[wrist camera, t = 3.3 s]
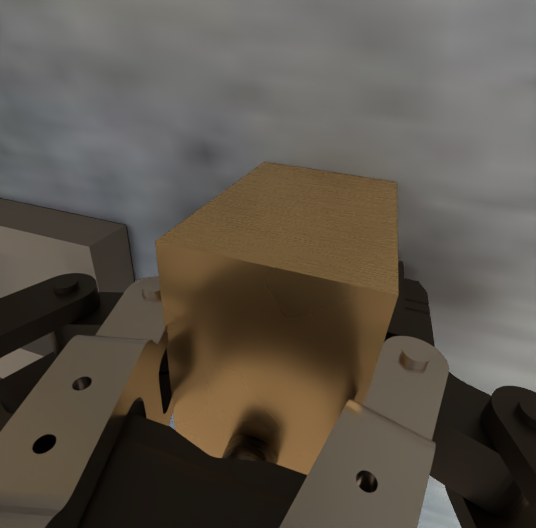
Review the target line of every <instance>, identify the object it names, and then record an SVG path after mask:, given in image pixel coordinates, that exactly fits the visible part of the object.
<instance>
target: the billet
mask: <svg viewBox="0 0 536 528" xmlns="http://www.w3.org/2000/svg"><path fill="white" fill-rule="evenodd" d="M155 244H156V253H157V262H158V272H159V281H160V290H161V300H162V309H163V319H164V324H167V329H168V339H169V342H168V344H167V356H168V366H169V375H170V384H171V391H174V398H175V407H174V410H173V412H174V422H175V431H177V432H178V433H179V434H181V435H182V436H183V437H185V438H186V439H188V440H189V441H190V442H192V443H193V444H194V445H196V446H197V447H199V448H200V449H201V450H203V451H204V452H205V453H207V454H208V455H210V456H213V457H217V458H228V459H240V460H252V461H264V462H272V463H275V464H277V465H280V466H283V467H286V468H289V469H292V470H294V471H297V472H300V473H303V474H306V475H308V474H309V472H310V470H311V468H312V466H313V464H314V462H315V461H316V459H317V457H318V455H319V453H320V451H321V449H322V448H323V446H324V444H325V442H326V440H327V438H328V436H329V435H330V433H331V431H332V429H333V427H334V425H335V423H336V422H337V420H338V418H339V416H340V414H341V412H342V410H343V409H344V407H345V405H346V403H347V402H348V400H349V399H350V398H351V399H353V400H354V398H355V396H356V394H357V393H358V391H359V389H360V387H361V385H362V383H363V381H364V379H365V380H368V381H372V378H373V375H374V371H375V368H376V365H377V362H378V359H379V355H380V352H381V349H382V346H383V343H384V340H385V336H386V333H387V330H388V327H389V324H390V320H391V317H392V314H393V311H394V308H395V305H396V301H397V298H398V295H399V294H398V229H397V182H394V181H388V180H381V179H374V178H368V177H361V176H354V175H348V174H341V173H334V172H328V171H321V170H314V169H308V168H301V167H294V166H288V165H281V164H274V163H268V162H264V163H262V164H261V165H259V166H258V167H257V168H255V169H254V170H253V171H251V172H250V173H248V174H247V175H246V176H244V177H243V178H242V179H240V180H239V181H237V182H236V183H235V184H233V185H232V186H231V187H229V188H228V189H226V190H225V191H224V192H222V193H221V194H220V195H218V196H217V197H215V198H214V199H213V200H211V201H210V202H209V203H207V204H206V205H204V206H203V207H202V208H200V209H199V210H198V211H196V212H195V213H193V214H192V215H191V216H189V217H188V218H187V219H185V220H184V221H182V222H181V223H180V224H178V225H177V226H176V227H174V228H173V229H171V230H170V231H169V232H167V233H166V234H164V235H163V236H162V237H160V238H159V239H158V240H156V241H155Z"/></svg>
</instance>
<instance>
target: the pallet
mask: <svg viewBox="0 0 536 528" xmlns="http://www.w3.org/2000/svg"><path fill="white" fill-rule="evenodd" d="M68 273H83V274H88V275H90V276H92V277H94V278H95V280H96V283H97V287H98V292H123V293H124V292H125V291H126V289H127V288H128V287H129V286H130V285H131V284H132V283H134V275H133V269H132V262H131V256H130V249H129V242H128V236H127V229H126V225H123V224H118V223H113V222H109V221H104V220H99V219H95V218H90V217H85V216H81V215H76V214H71V213H66V212H62V211H57V210H52V209H48V208H43V207H38V206H34V205H29V204H24V203H19V202H15V201H10V200H5V199H1V198H0V298H2V297H4V296H7V295H9V294H12V293H15V292H17V291H20V290H22V289H25V288H27V287H30V286H32V285H35V284H37V283H40V282H42V281H45V280H48V279H50V278H53V277H56V276H59V275H63V274H68ZM53 351H54V350H53V347H52V344H51V341H50V338H49V335H48V334H47V335H45V336H43V337H41V338H39V339H37V340H35V341H33V342H31V343H29V344H27V345H25V346H23V347H21V348H19V349H17V350H15V351H13V352H11V353H9V354H7V355H5V356H3V357H2V358H0V380H1V379H3V378H5V377H7V376H9V375H10V374H12V373H14V372H16V371H18V370H20V369H22V368H23V367H25V366H27V365H29V364H31V363H33V362H34V361H36V360H38V359H40V358H42V357H44V356H46V355H47V354H49V353H51V352H53Z"/></svg>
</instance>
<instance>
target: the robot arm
mask: <svg viewBox="0 0 536 528" xmlns="http://www.w3.org/2000/svg"><path fill="white" fill-rule="evenodd" d="M398 294H399V295H398V298H397V301H396V305H395V308H394V311H393V314H392V317H391V320H390V324H389V327H388V330H387V333H386V336H385V340H384V343H383V346H382V349H381V352H380V355H379V359H378V362H377V365H376V368H375V371H374V375H373V378H372V381H368V380H365V379H364V381H363V383H362V385H361V387H360V389H359V391H358V393H357V394H356V396H355V398H354V400H353V399H351V398H350V399H349V400H348V402H347V403H346V405H345V407H344V409H343V410H342V412H341V414H340V416H339V418H338V420H337V422H336V423H335V425H334V427H333V429H332V431H331V433H330V435H329V436H328V438H327V440H326V442H325V444H324V446H323V448H322V449H321V451H320V453H319V455H318V457H317V459H316V461H315V462H314V464H313V466H312V468H311V470H310V472H309V474H308V475H306V474H303V473H300V472H297V471H294V470H292V469H289V468H286V467H283V466H280V465H277V464H275V463H272V462H264V461H252V460H240V459H228V458H217V457H213V456H210V455H208V454H207V453H205V452H204V451H203V450H201V449H200V448H199V447H197V446H196V445H194V444H193V443H192V442H190V441H189V440H188V439H186V438H185V437H183V436H182V435H181V434H179V433H178V432H177V431H175V430H174V429H172V428H171V427H170V426H169V423H170V419H171V416H172V413H173V410H174V407H175V398H174V391H171V384H170V375H169V366H168V356H167V344H168V342H169V339H168V329H167V324H164V319H163V309H162V300H161V290H160V281H159V276H153V277H147V278H143V279H140V280H138V281H136V282H134V283H132V284H131V285H130V286H129V287H128V288H127V289H126V291H125V292H124V293H123V292H98V287H97V283H96V280H95V278H94V277H92V276H90V275H88V274H83V273H68V274H63V275H59V276H56V277H53V278H50V279H48V280H45V281H42V282H40V283H37V284H35V285H32V286H30V287H27V288H25V289H22V290H20V291H17V292H15V293H12V294H9V295H7V296H4V297H2V298H0V358H2V357H3V356H5V355H7V354H9V353H11V352H13V351H15V350H17V349H19V348H21V347H23V346H25V345H27V344H29V343H31V342H33V341H35V340H37V339H39V338H41V337H43V336H45V335H47V334H48V335H49V338H50V341H51V344H52V347H53V350H54V351H53V352H51V353H49V354H47V355H46V356H44V357H42V358H40V359H38V360H36V361H34V362H33V363H31V364H29V365H27V366H25V367H23V368H22V369H20V370H18V371H16V372H14V373H12V374H10V375H9V376H7V377H5V378H3V379H1V380H0V528H417V526H418V522H419V518H420V513H421V509H422V505H423V500H424V496H425V492H426V488H427V483H428V479H429V475H430V476H431V477H433V478H435V479H436V480H438V481H439V482H441V483H442V484H444V485H445V488H446V491H447V494H448V497H449V499H450V501H451V504H452V506H453V508H454V511H455V513H456V515H457V518H458V520H459V522H460V525H461V527H462V528H536V392H533V391H531V390H528V389H525V388H521V387H517V386H503V387H500V388H498V389H496V390H495V391H494V392H493V394H492V396H491V395H489V394H487V393H485V392H482V391H480V390H478V389H476V388H474V387H472V386H470V385H468V384H466V383H465V382H463V381H461V380H459V379H458V378H456V377H455V376H454V375H452V374H451V373H450V372H449V366H448V363H447V361H446V359H445V357H444V356H443V355H442V354H441V353H440V352H439V351H438V350H437V349H436V348H435V346H434V339H433V331H432V324H431V317H430V315H429V314H430V310H429V306H428V304H429V303H428V296H427V292H426V291H425V289H424V288H423V287H422V285H421V284H420V283H419V282H418V281H414V280H410V279H405V278H404V267H403V262H402V261H398Z"/></svg>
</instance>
